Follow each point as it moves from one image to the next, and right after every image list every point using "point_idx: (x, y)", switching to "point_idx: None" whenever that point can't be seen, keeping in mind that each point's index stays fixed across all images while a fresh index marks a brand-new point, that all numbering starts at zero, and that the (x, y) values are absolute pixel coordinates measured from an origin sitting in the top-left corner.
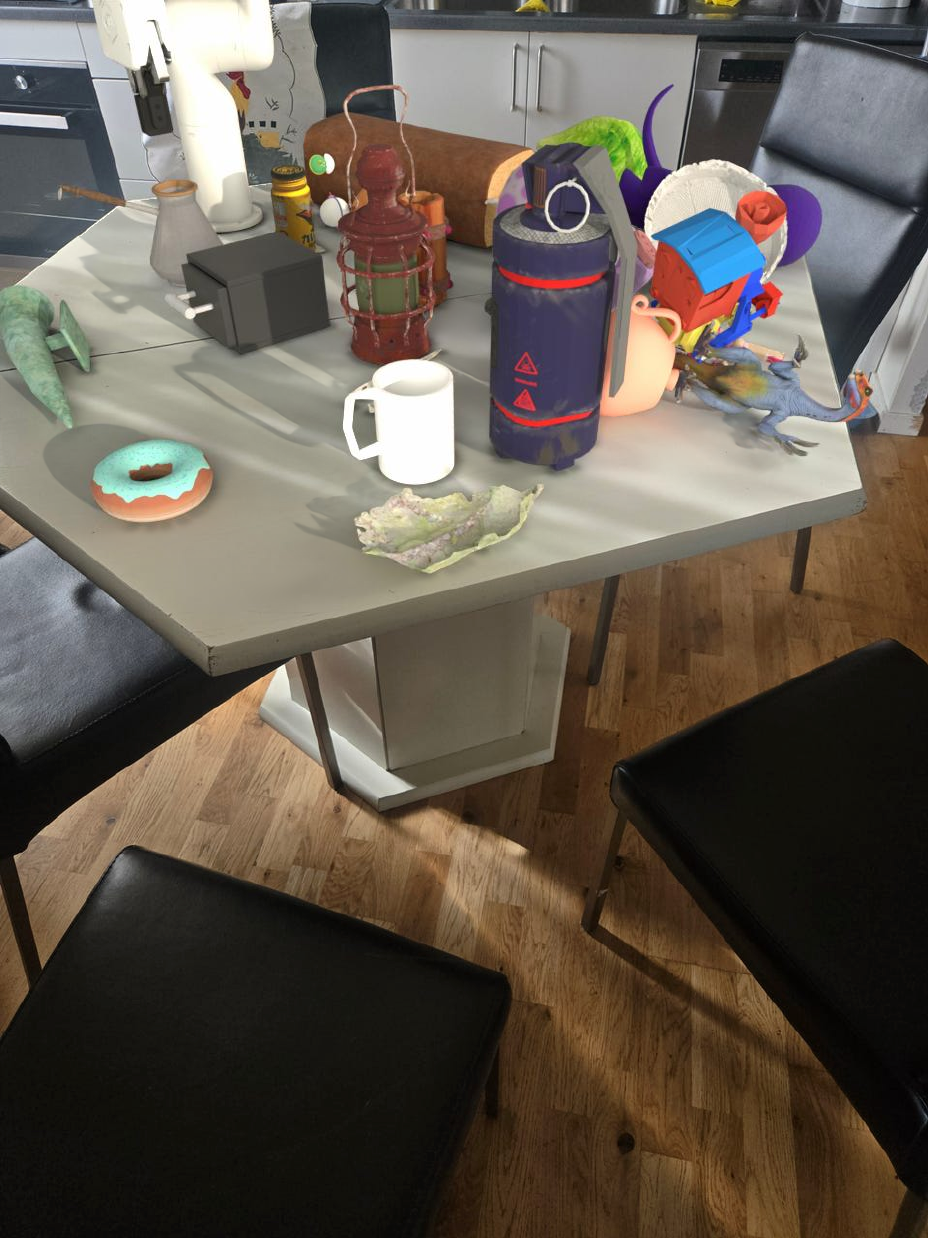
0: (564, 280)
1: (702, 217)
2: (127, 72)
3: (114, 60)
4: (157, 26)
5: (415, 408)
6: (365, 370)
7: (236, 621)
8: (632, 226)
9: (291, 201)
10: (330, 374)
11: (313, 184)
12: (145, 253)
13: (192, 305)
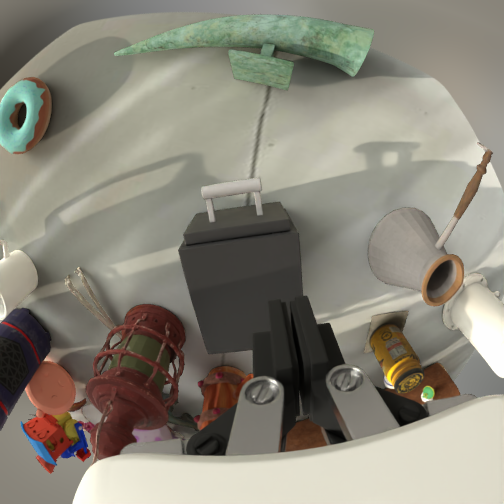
0: None
1: (47, 458)
2: (381, 411)
3: (375, 441)
4: None
5: None
6: (126, 299)
7: None
8: None
9: (389, 365)
10: (127, 275)
11: (438, 373)
12: (460, 220)
13: (274, 207)
